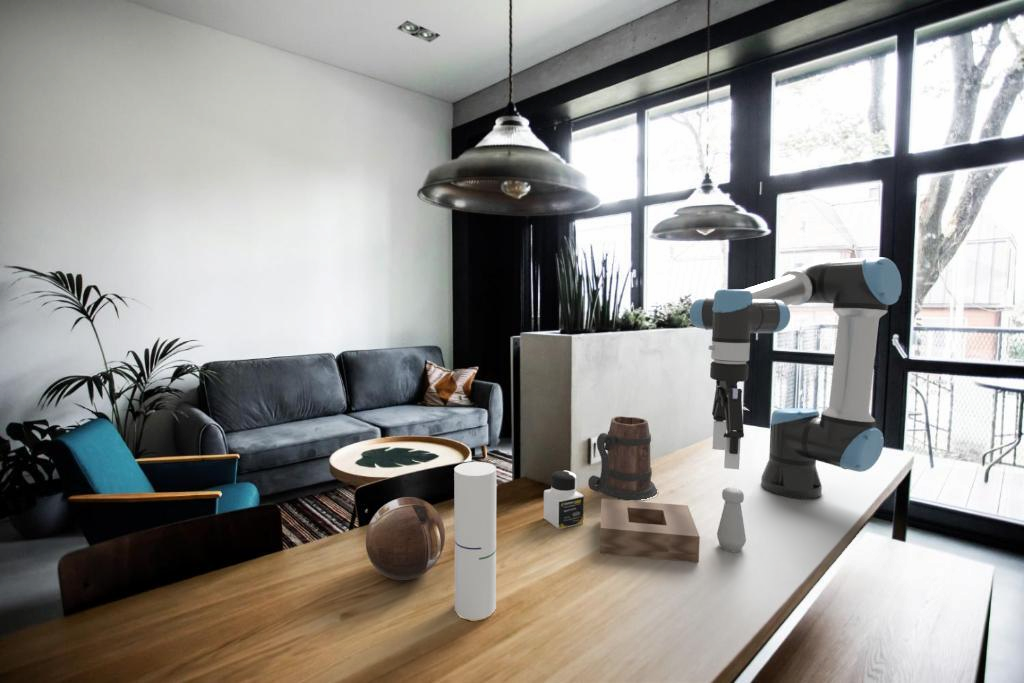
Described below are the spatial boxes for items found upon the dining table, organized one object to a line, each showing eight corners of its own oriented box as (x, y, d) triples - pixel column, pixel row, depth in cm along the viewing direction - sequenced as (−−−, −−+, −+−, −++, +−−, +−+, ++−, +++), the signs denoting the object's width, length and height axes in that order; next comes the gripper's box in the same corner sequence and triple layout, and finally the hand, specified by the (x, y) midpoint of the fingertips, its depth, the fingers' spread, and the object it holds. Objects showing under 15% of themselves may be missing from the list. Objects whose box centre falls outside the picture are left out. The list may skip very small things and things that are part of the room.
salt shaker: (740, 541, 113) (742, 485, 112) (749, 554, 108) (752, 495, 106) (713, 540, 114) (715, 484, 113) (720, 553, 108) (723, 494, 107)
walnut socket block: (686, 527, 120) (687, 505, 120) (698, 562, 104) (699, 536, 104) (600, 520, 124) (601, 498, 123) (599, 552, 108) (600, 527, 108)
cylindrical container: (455, 597, 92) (454, 462, 90) (494, 595, 92) (495, 461, 90) (454, 622, 85) (453, 476, 82) (497, 620, 85) (497, 475, 83)
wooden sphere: (354, 570, 101) (353, 496, 99) (423, 548, 110) (422, 480, 108) (385, 607, 89) (384, 524, 87) (459, 578, 98) (459, 503, 96)
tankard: (623, 474, 156) (625, 410, 154) (671, 491, 143) (673, 421, 141) (568, 492, 142) (569, 421, 140) (615, 512, 129) (617, 435, 127)
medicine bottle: (558, 530, 119) (559, 480, 118) (543, 518, 125) (543, 470, 124) (583, 523, 122) (584, 475, 121) (567, 512, 128) (568, 466, 127)
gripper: (701, 354, 122) (698, 441, 124) (722, 368, 98) (717, 475, 99) (735, 356, 120) (731, 443, 122) (764, 369, 96) (758, 479, 98)
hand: (724, 458), depth 111 cm, fingers open, 13 cm apart
